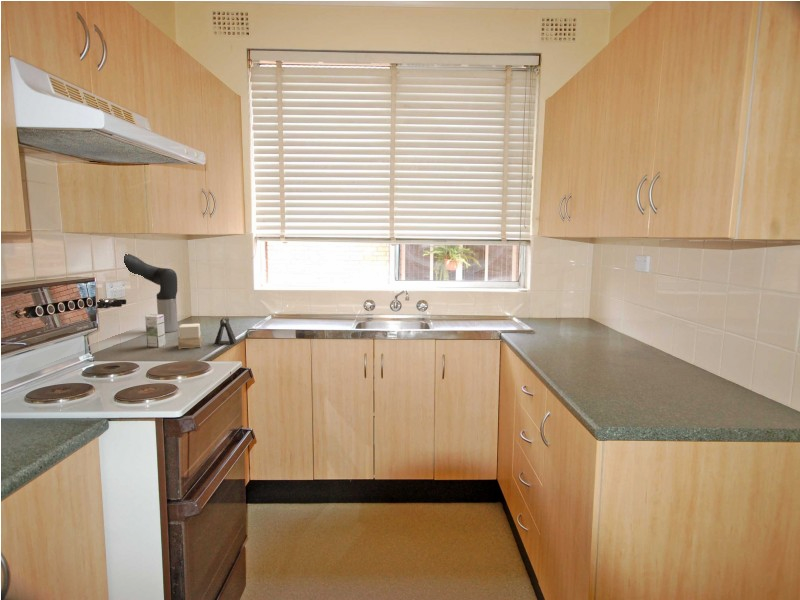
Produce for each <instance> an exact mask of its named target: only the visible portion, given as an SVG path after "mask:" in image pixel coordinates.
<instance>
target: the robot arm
mask: <svg viewBox="0 0 800 600" xmlns="http://www.w3.org/2000/svg"><path fill="white" fill-rule="evenodd" d="M124 263H125V265H126V267H127V268H128V270H129V271H130V272H132V273H134V274H138V275H141V276H143V277H144V278H143V277H142V278H143V279H145V280H148V281H149V282H151V283H153V284H155V285H158V286H159V287H160V288H159V292H157V293H156V307H157V309H156V311H157V314H163V315H164V330H165V333H173V332H177V331H179V326H178V323H179V322H178V311H177V310H178V308H177V307H178V305H177V295H178V276H177V273H176V271H175V270H174V269H172V268H165V267H158V266H153V265H151V264H148V263H147V262H144V260H142V259H140V258H139V257H138V256H135V255H133V254H131V253H128V255H127V254H125V256H124ZM103 299H104V300H103ZM103 299H102V298H99V301H100V302H97V308H96V309H110V308H121V307H122V306H123V305H126V304H127V299H123V298H122V299H118V298H109V297H108V298H103ZM108 300H109V301H108Z"/></svg>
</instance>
